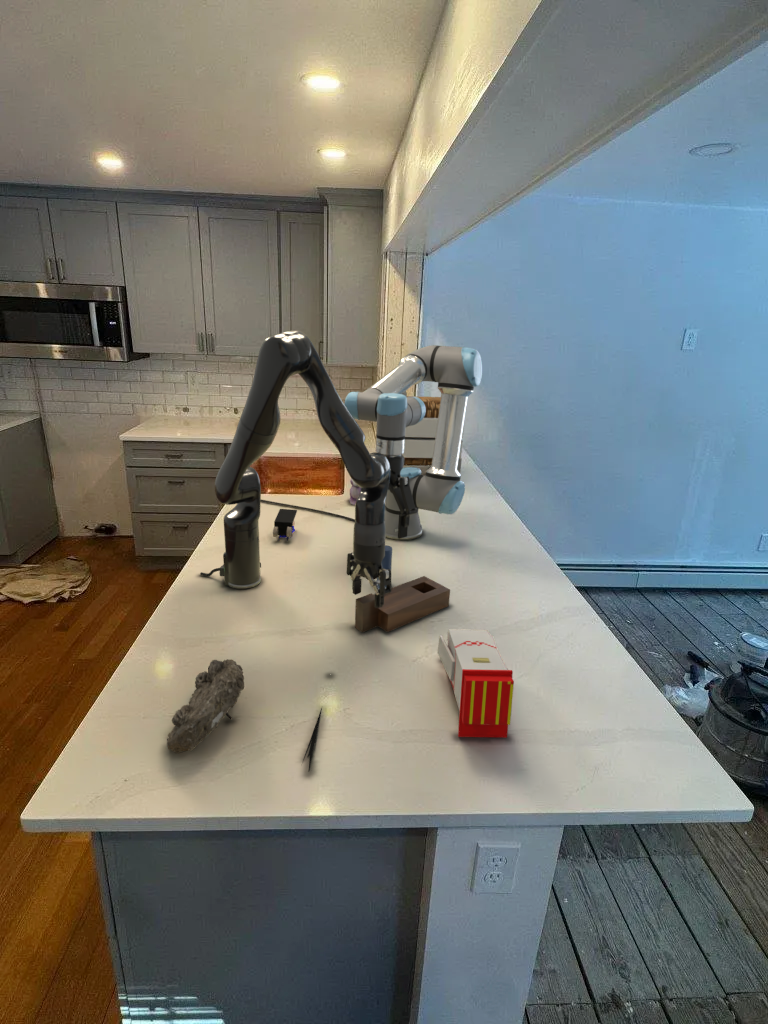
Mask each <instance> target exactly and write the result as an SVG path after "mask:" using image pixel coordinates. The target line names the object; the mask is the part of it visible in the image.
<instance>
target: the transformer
mask: <svg viewBox="0 0 768 1024" xmlns="http://www.w3.org/2000/svg"><path fill="white" fill-rule="evenodd" d="M407 394H408V393H407V390H406V391H405V392H404V393H403V395H405V396H406V397H409V396H410V397H418V398H420V399H421V400H422V401H423V402H424V404H425V407H426V413H425V416H424V418H423V419H422V420H421V421H420V422H418V423H417V424H415V425H411V426H408V427H406V428H405V445H404V453H403V454H402V455H403V456H404V461H403V468H404V467H405V466H406V467H410V466H411V467H417V466H418V467H431V466H432V458H433V451H434V444H435V437H436V430H437V422H438V415H439V408H440V401H441V396H415V395H414V396H413V395H412V396H411V395H407ZM464 422H465V419H464ZM464 429H465V424H464V425H463V432H462V439H463V438H464V431H465V430H464ZM462 439H461V446H460V452H459V459H458V466H457V471H458V472H459V473H460V475H461V472H462V461H463V460H462V453H463V442H464V441H463V440H462Z"/></svg>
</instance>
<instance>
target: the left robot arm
mask: <svg viewBox="0 0 768 1024" xmlns="http://www.w3.org/2000/svg"><path fill="white" fill-rule="evenodd" d="M254 369H255V370H254V375H253V379H252V383H251V386H250V389H249V391H248V395H247V399H246V401H245V404H244V407H243V409H242V412H241V415H240V418H239V420H238V423H237V426H236V430H235V433H234V436H233V438H232V441H231V444H230V447H229V448H228V451H227V454H226V456H225V458H224V459H223V462H222V464H221V466H220V467H219V470H218V472H217V473H216V474H217V475H216V476H215V480H214V495H215V497H216V499H217V500H218V501H219V503H221V504H223V505H227V506H231V505H235V506H234V507H233V508H232V509H231V510H229V511H228V512H226V514H225V515H224V516H223V532H224V533H223V534H224V547H225V548H224V552H223V554H222V558H223V559H222V561H223V563H222V565H221V566H220V567H218V568H214V569H212V570H210V572H208V573H206V572H200V573H199V575H200V576H203V577H210V576H212V575H213V574H214V573H216V572H219V576H220V577H224V586H228V587H230V588H233V589H238V590H239V589H240V590H243V589H251V588H254V587H256V586H258V585H259V584H260V583H261V582H262V576H261V568H262V563H261V555H260V527H259V524H260V523H259V520H260V517H261V507H262V506H261V504H262V503H261V502H262V501H261V500H262V499H261V498H262V486H261V485H262V484H261V479H260V476H259V474H258V471H256V469H255V468H254V467H252V465H253V464H255V462H256V461H258V459H260V458H261V457H262V456H263V455H264V454H265V453H266V452H267V451H268V450H269V449H270V447H271V446H272V444H273V443H274V440H275V438H276V435H277V433H278V431H279V428H280V425H281V418H282V417H281V410H280V406H279V398H280V395H281V393H282V391H283V388H284V386H285V385H286V383H287V381H288V379H289V378H290V377H293V376H295V375H297V374H298V375H299V376H300V377H301V379H302V380H303V381H304V383H305V384H306V385H307V386H308V389H309V390H310V393H311V395H312V398H313V401H314V405H315V410H316V414H317V419H318V421H319V424H320V426H321V428H322V429H323V431H324V433H325V434H326V436H327V437H328V438H329V440H330V442H331V443H332V444H333V446H334V447H335V448H336V450H337V451H338V452H339V455H340V458H341V460H342V463H343V465H344V467H345V468H346V471H347V473H348V475H349V477H350V479H351V478H352V480H353V481H354V482H355V483H356V484H357V485H358V486H359V487H361V490H360V494H359V496H358V497H357V499H356V503H355V505H354V519H355V521H354V524H353V539H352V550H353V551H352V552H349V553H347V555H346V556H347V557H346V572H345V573H346V575H347V576H348V577H349V576H350V580H351V582H352V583H351V590H352V594H353V595H355V596H356V595H359V594H361V593H362V582H363V581H362V578H365V579H366V581H368V583H369V585H370V587H372V588H373V591H374V594H375V603H374V607H375V608H380V607H382V606H383V605H384V595H385V594H388V593H391V588H392V569H391V570H390V569H387V570H385V569H383V568H382V563H381V562H382V560H383V558H384V557H385V545H386V538H387V537H386V527H385V504H386V497H387V492H388V487H389V481H390V464H389V461H388V459H387V458H386V457H385V456H384V455H383V454H381V453H377V452H376V451H374V452H370V451H369V450H368V448H367V446H366V444H365V442H366V435H365V433H364V431H363V430H362V428H361V426H360V425H359V423H358V422H357V421H356V419H354V418H353V417H352V415H351V414H350V412H349V411H348V409H347V408H346V406H345V405H344V404H345V402H343V400H342V398H341V397H340V395H339V394H338V391H337V389H336V388H335V385H334V383H333V381H332V379H331V377H330V375H329V373H328V371H327V369H326V368H325V366H324V364H323V362H322V360H321V357H320V355H319V353H318V351H317V349H316V348H315V346H314V344H313V342H312V341H311V339H310V337H308V336H307V335H306V334H305V332H303V331H301V330H298V329H292V330H286V331H283V332H279V333H276V334H273V335H270V336H268V337H267V338H265V340H264V341H263V342H262V344H261V346H260V349H259V352H258V355H257V360H256V365H255V368H254ZM377 577H378V578H379V580H378V581H377ZM377 584H379V585H380V589H379V588H378V586H377ZM386 585H387V588H385V586H386Z"/></svg>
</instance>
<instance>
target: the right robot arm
mask: <svg viewBox="0 0 768 1024" xmlns="http://www.w3.org/2000/svg"><path fill="white" fill-rule="evenodd" d="M482 377H483V361H482V356H481V354H480V352H479V350H477V349H476V348H472V347H466V346H449V345H438V344H437V345H436V344H431V345H427V346H423V347H420V348H418V349H414V350H413V351H411V352H409V353H408V354H406V355H405V356H403V357H402V358H401V359H400V361H399V362H398V364H397V366H396V367H394V368H393V369H392V370H390V371H389V372H388V373H386V374H385V375H384V376H382V377H381V378H380V379H378V380H377V381H376V382H375V383H372V385H370V386H369V387H368V388H367V389H366V390H364V391H363V392H362V391H361V392H360V391H351V392H348V393H347V395H346V396H345V399H344V405H345V406H346V408H347V409H348V411H349V412H350V414H351V415H352V417H353V418H354V419H355V420H357V421H366V422H374V423H376V433H375V452H377V453H381V454H383V455H384V456H385V457H386V458H387V459H388V461H389V464H390V481H389V487H388V492H387V497H386V502H385V527H386V537H385V538H386V539H389V540H395V541H410V540H415V539H418V538H420V537H421V536H422V535H423V525H422V524H421V518H420V515H419V510H423V511H428V512H434V513H437V514H440V515H442V514H444V515H453V514H455V513H456V512H457V511H458V509H459V508H460V506H461V504H462V502H463V499H464V496H465V490H466V485H465V482H464V481H462V480H461V476H462V475H461V474H460V473H459V472H458V471H457V466H458V459H459V452H460V446H461V440H462V439H463V438H462V432H463V425H464V426H465V421H464V420H465V417H466V412H467V405H468V398H469V396H470V395H472V394H473V393H474V389H475V388H476V387H479V386H480V384H481V380H482ZM422 382H432V383H437V390H438V391H439V392H440V397H441V401H440V408H439V415H438V422H437V430H436V437H435V444H434V451H433V458H432V465H430V466H429V468H428V469H426V471H425V474H422V470H421V468H419V467H415V466H411V467H410V466H406V467H405V466H404V468H403V461H404V456H403V455H402V454H403V453H404V445H405V428H406V427H408V426H411V425H415V424H417V423H418V422H420V421H421V420H422V419H423V418H424V416H425V413H426V407H425V404H424V402H423V401H422V400H421V399H420V398H418V397H419V396H418V397H417V396H415V397H410V396H411V395H408V396H409V397H406V396H405V395H403V393H404V392H405V391H406V392H407V391H408V390H409V389H410V388H411V387H412V386H413V385H414V386H415V385H418V384H421V383H422ZM463 433H464V432H463ZM261 502H262V503H267V504H272V505H279V506H285V507H290V508H295V509H302V510H305V511H311V512H316V513H321V514H326V515H328V516H333V517H338V518H342V519H346V520H348V521H352V522H355V518H352V517H349V516H346V515H341V514H338V513H334V512H333V513H332V512H328V511H325V510H319V509H315V508H310V507H305V506H300V505H293V504H287V503H283V502H277V501H271V500H266V499H261Z"/></svg>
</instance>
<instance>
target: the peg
mask: <svg viewBox="0 0 768 1024" xmlns="http://www.w3.org/2000/svg"><path fill="white" fill-rule="evenodd" d="M392 562H393V547H392V546H391V545H388V544H385V557H384V558H383V560H382V562H381V563H382V568H383V569H385V570H387V569H390V570H391V571H392ZM378 580H379V578H378V577H377V578H376V581H378ZM377 586H378V588H379V589H380V585H379V584H377ZM385 588H387V585H386V586H385Z"/></svg>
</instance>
